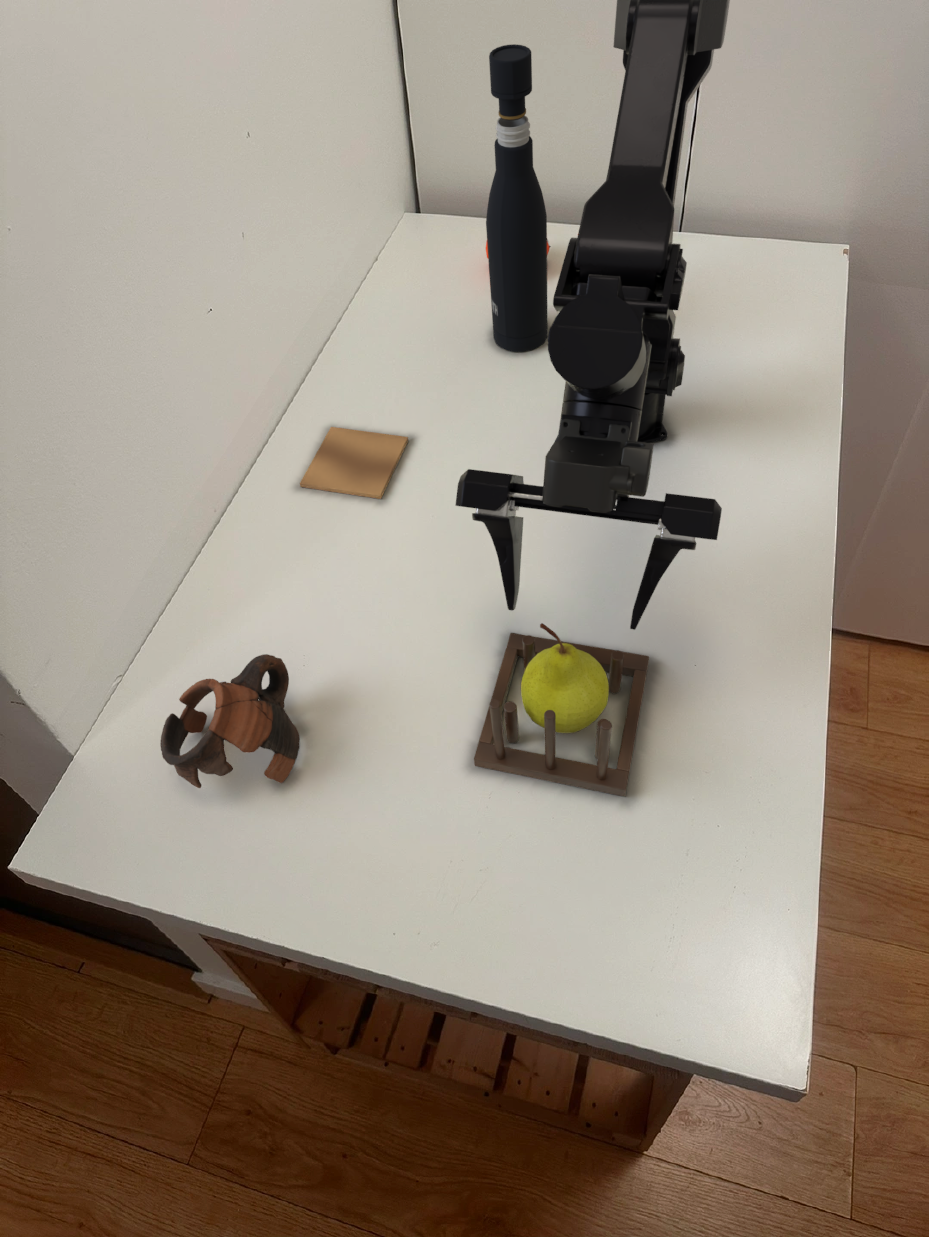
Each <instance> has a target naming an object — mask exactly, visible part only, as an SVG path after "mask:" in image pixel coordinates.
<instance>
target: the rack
mask: <svg viewBox="0 0 929 1237" xmlns="http://www.w3.org/2000/svg"><path fill="white" fill-rule="evenodd" d="M561 642H562V643H567V644H571V645H573V646H574V647H575V648H576V649H578V650H581V651H584V652H586V653H588V654H590V655H591V656H592V657H594V658H595V659H596V660H597V661H598V662H599V663H600V665H601V666H602V668H603V669H604V671H605V672H606V673H609V675H608V684H609V693H611V694H614V695H615V694H618V693H620V691H621V687H622V678H623V676H628V677H633V678H632V683H631V688H630V694H629V699H628V704H627V710H626V715H625V720H624V726H623V731H622V737H621V742H620V748H619V753H618V758H617V762H616V763H617V764H616V768H612V767H609V761H610V760H609V759H610V750H611V740H612V732H613V731H612V730H613V724H612V722H611V721H610V720H608V719H606V718H600V719H599V720H598V721H597V722H596V733H595V744H594V745H595V746H594V758H595V759H596V760H597V762H596V763H597V764H592V763H587V762H581V761H577V760H572V759H567V758H562V757H558V756H556V754H557V753H556V752H557V751H556V747H557V746H556V745H557V744H556V743H557V742H556V733H557V732H556V715H555V712H554V711H553V710H547V711H546V712H545V713H544V728H543V730H544V754H542V753H537V752H531V751H528V750H522V749H516V748H511V747H506V744H505V735H506V741H507V742H508V743H509V744H516V743H518V742H519V741H520V733H519V719H518V717H519V716H518V705H517V703H516V702H514V701H507V698H508V694H509V690H510V687H511V683H512V680H513V676H514V672H515V669H516V665H517V661H518V658H519V657H520V658H523V673H524V672H525V669H526V667H527V665H528V664H529V662H530V661H531V660H532V659H533V658H534V657H535V656H536V655H537V654H538V653H540V652H541V651H543V650H544V649H548V648H552V647H553V646H554V645H556V644H559V642H558V641H557V639H550V638H545V637H539V636H534V635H530V634H521V633H515V632H510V634H509V637H508V640H507V644H506V647H505V651H504V654H503V658H502V660H501V664H500V666H499V671H498V673H497V674H498V675H497V678H496V681H495V685H494V689H493V691H492V695H491V699H490V702H489V704H488V709H487V712H486V716H485V719H484V723H483V726H482V728H481V733H480V735H479V740H478V742H477V746H476V749H475V753H474V756H473V764H474V766H475V767H478V768H482V769H483V768H484V769H488V770H494V771H498V772H504V773H507V774H513V775H517V776H522V777H528V778H531V779H537V780H541V781H546V782H552V783H557V784H561V785H565V786H566V785H567V786H570V787H577V788H579V789H586V790H590V791H594V792H599V793H605V794H608V795H609V794H610V795H613V796H619V797H623V798H625V797H626V794H627V788H628V783H629V778H630V772H631V766H632V760H633V755H634V749H635V744H636V743H635V742H636V738H637V731H638V725H639V722H640V721H639V719H640V714H641V709H642V704H643V698H644V691H645V686H646V680H647V675H648V668H649V663H650V656H649V655H646V654H640V653H635V652H634V653H633V652H628V651H621V650H617V649H610V648H603V647H598V646H593V645H587V644H582V643H581V644H580V643H574V642H569V641H562V640H561ZM503 716H504V723H505V734H504V725H503Z"/></svg>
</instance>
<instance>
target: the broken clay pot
mask: <svg viewBox="0 0 929 1237" xmlns="http://www.w3.org/2000/svg"><path fill="white" fill-rule="evenodd" d="M266 673H267V674H268V681H269V682H268V686H266V688H263V680H264V676H265V675H266ZM289 684H290V677H289V671H288V669H287V666H286V663H285V662H284V661H283V658H280V657H276V656H275V655H271V654H268V653H266V654H264V653H263V654H260V655H257V656H255V657H253V658H252V659H251V660H250V661H249V662H248V663H247V664H246V665H245V667H244V668H243V669H242V671H241V672H240V673H239V674H238V675H236V676H235V677H233V678H232V679H230V682H227V681H221V682H220V681H219V680H217V679H214V678H205V679H201V680H199V681H197V682H194V684H192V685H191V686H190V687H188V688H187V689H186V690H185V691H184V692H183V693H182V694H181V696H180V697H179V698H178V700H179V702H180V703H181V704H184V705H185V707H184V709H183V711H182V712H181V714H180V716H178V715H176V714H175V713H170V714H169V715H168V716H167V717H166V719H165V721H164V725H163V727H162V731H161V735H160V751H161V756H162V758H163V760H164V761H165V762H166V763H167V764H168V765H169V766H173V767H174V769H175V770H176V774H178V776H180V777H181V778H183V779H184V780H185V781H187V782H188V783H189V784H190V785H192V786H194V787H196V788H197V789H201V788H202V782H201V781H200V778H199V771H200V772H201V773H203V774H205V775H215V776H218V777H225V776H226V775H228V774H231V772H233V771H234V767H233V766H232V764H231V763H230V762H228V761H227V760H228V758H227V754H226V750H225V741H226V742H227V743H229V744H231V745H233V746H234V747H236V748H237V749H239V750H240V751H241V752H242V753H247V754H251V753H255V752H256V751H257V750H259V748H261V749H264V750H265V749H266V750H269V751H272V752H273V756H272V757H271V758H272V759H271V760H270V762H269V764H268V766H267V767H266V769H265V770H264V772H263V775H264V777H266V778H268V779H270V780H274V781H276V782H277V783H279V784H282V783H284V782H285V780H286V779H287V778H288V777H289V775H290V773H291V772H292V770H293V768H294V765H295V763H296V760H297V758H298V754H299V750H300V743H301V742H300V740H301V739H300V738H301V737H300V732H299V730H298V728H297V727H296V725H295V724H294V723H293V721H292V719H291V717H290V716H289V715H288V714H287V712H286V709H285V708H286V706H285V702H286V701H285V700H286V697H287V693H288V690H289ZM212 692H213V694H214V698H215V706H214V708H215V710H214V712H213V715H212V719H211V721H210V724H209V726H208V728H207V731H206V732H205V733H204V734H203V736H202V737H201V739H200V740H199V741H198V743H196V745H194V746H193V747H192V748H191V749H190V750H188V751H187V752H185V753H183V754H181V749H182V746H183V744H184V742H185V741H186V738H187V737H188V735H189V734H200V733H203V731H204V729H205V726H206V724H207V720H208V715H207V714H206V712H204V711H200V710H196V707H197V706H198V705H199V703H200V702H201V701H202V700H203V699H204V698H205V697H206V696H207V695H209V694H211V693H212Z"/></svg>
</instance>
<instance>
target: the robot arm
mask: <svg viewBox="0 0 929 1237" xmlns="http://www.w3.org/2000/svg"><path fill="white" fill-rule="evenodd" d="M730 2H731V0H616V7H615V18H614V19H615V21H614V33H613V48H615V49H619V50H622V52H623V53H622V65H623V68H624V72H625V73H624V77H623V83H622V89H621V93H620V94H621V95H620V101H619V106H618V112H617V118H616V124H615V128H614V134H613V135H614V136H613V140H612V145H611V146H612V147H611V151H610V158H609V164H608V169H607V174H606V179H605V181H604V182H603V183H602V184H601V185H600V186H599V188H597V190H595V191H594V193H593V194H592V195H591V196H590V197H589V198H588V199H587V200H586V201H585V203H584V205H583V208H582V214H581V219H580V224H579V228H578V234H577V237H570V239H569V241H568V245H567V248H566V251H565V255H564V259H563V262H562V266H561V269H560V273H559V276H558V280H557V283H556V287H555V290H554V294H553V297H552V298H553V299H552V307H553V308H554V309H555V311H556V312H558V313H557V314H556V316H555V317H554V320H553V322H552V324H551V326H550V327H549V331H548V334H547V351H548V356H549V360H550V362H551V364H552V367H553V368H554V370H555V371H556V372H557V373H558V375H559V376H560V377H561V378H562V379H563V380H564V381H565V384H564V391H563V398H562V405H561V411H560V420H559V426H558V434H557V436H556V437H555V440H554V442H553V443H552V446H550V448H549V449H548V451H547V453H546V455H545V458H544V460H545V461H544V472H543V485H533V484H527V483H524V476H523V475H518V474H512V473H503V472H496V471H488V470H478V469H470V468H468V469H466V470H465V471H464V473H462V474H461V475H460V477H459V480H458V483H457V489H456V498H455V506H456V507H461V508H462V507H463V508H467V509H475V512H473V513H471V516H472V517H471V518H472V521H476V522H481V523H483V524H484V526H485V528H486V529H487V532H488V534H489V536H490V538H491V540H492V543H493V546H494V549H495V552H496V556H497V560H498V566H499V569H500V574H501V575H500V576H501V580H502V585H503V589H504V590H503V591H504V595H505V600H506V606H507V610H508V611H514V610H516V609H517V608H516V607H517V602H518V597H519V593H520V580H521V564H522V548H523V534H524V533H523V530H524V517H523V516H518V515H516V513H517V511H519V509H520V508H526V509H534V510H542V511H549V512H556V513H564V514H571V515H577V516H579V515H580V516H587V517H592V518H593V517H595V518H601V519H609V520H617V521H624V522H632V523H633V522H634V523H639V524H647V525H654V526H655V525H656V526H657V530H659V531H660V533H659V534H656V535H655V536H654V537H653V540H652V544H651V547H650V551H649V553H648V557H647V562H646V565H645V567H644V570H643V574H642V578H641V582H640V584H639V588H638V591H637V594H636V598H635V601H634V605H633V608H632V614H631V618H630V626H629V629H630V630H634V631H635V630H636V629H637V627H638V625H639V623H640V621H641V619H642V617H643V614H644V613H645V611H646V609H647V607H648V605H649V602H650V601H651V599H652V597H653V594H654V593H655V591H656V588H657V587H658V585H659V583H660V581H661V579H662V577H663V576H664V574H665V573H666V571H667V570H668V568H669V567H670V566H671V564H672V562H674V560H675V559H676V557H677V555H678V554H679V553H680V552H681V550H689V551H695V550H696V548H697V541H696V539H702V540H703V539H705V540H713V541H718V537H719V530H720V523H721V519H722V518H721V517H722V511H723V510H722V506H721V505H720V504H719V502H718V501H717V500H716V498H708V497H700V496H692V495H684V494H678V493H677V494H676V493H669V492H668V493H667V492H665V495H664V500H656V499H647V498H643V497H645V496H646V494H647V491H648V487H649V482H650V477H651V468H652V461H653V453H654V443H656V442H661V441H665V440H667V439H668V431H667V429H666V427H665V425H664V423H663V420H664V413H665V405H666V397H673V392H674V391H675V390H676V388H678V387H680V386H682V384H683V378H684V371H685V370H684V369H685V362H686V361H685V359H686V354H685V353H684V352H683V350H682V346H681V338H676V337H674V334H675V326H676V319H677V316H676V313H675V311H679V309H680V303H681V298H682V294H683V287H684V284H685V278H686V271H687V265H688V264H687V261H686V260H685V258H684V257H683V252H684V248H681V246H682V245H681V244H682V243H673V241H674V222H675V202H676V194H677V188H678V180H679V172H680V165H681V157H682V151H683V144H684V143H683V142H684V137H685V136H684V135H685V127H686V120H687V113H688V112H687V111H688V105H689V103H690V101H691V100H692V98H693V97H694V95H695V93H696V92H697V91H698V89H699V87H700V86H701V85H702V84H703V82H704V80H705V78H706V77H707V76H708V74H709V72H710V71H711V69H712V66H713V60H714V54H715V50H720V49H722V47H723V44H724V42H725V36H726V30H727V24H728V23H727V22H728V18H729V17H728V16H729V11H730V10H729V8H730ZM631 496H634V497H631ZM637 497H638V498H637ZM639 497H642V498H639Z"/></svg>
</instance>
